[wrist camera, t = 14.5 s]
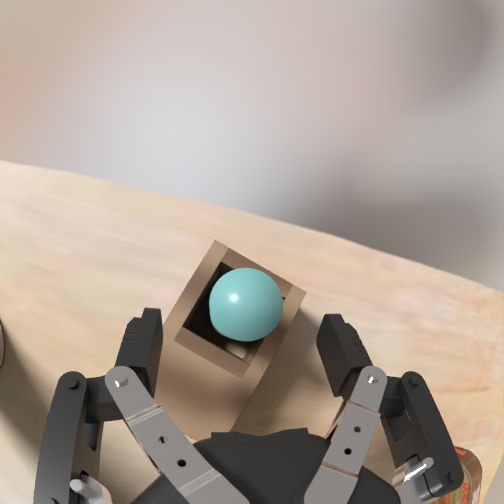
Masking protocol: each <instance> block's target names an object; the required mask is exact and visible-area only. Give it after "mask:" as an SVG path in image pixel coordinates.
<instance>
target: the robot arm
mask: <svg viewBox="0 0 504 504" xmlns="http://www.w3.org/2000/svg"><path fill="white" fill-rule="evenodd" d="M316 344H317V348H318V351H319V354H320V357H321V360H322V363H323V365H324V368H325V371H326V374H327V377H328V380H329V383H330V386H331V389H332V392H333V395H334V397H339V396H342V397H343V401H342V403H341V405H340V407H339V409H338V411H337V414H336V416H335V418H334V420H333V422H332V424H331V426H330V428H329V430H328V431H327V433H326V435H325V436H324V438H323V437H321V436H318V435H314V434H308V430H307V428H299V429H289V430H283V431H279V432H276V433H273V434H270V435H266V436H262V437H259V436H253V435H247V434H242V433H237V432H211V438H207V439H203V440H200V441H198V442H196V443H194V444H191V443H190V442H189V440H188V439H187V438H186V437H185V436H184V434H183V433H182V432H181V431H180V430H179V428H178V427H177V426H176V425H175V423H174V422H173V421H172V419H171V418H170V417H169V416H168V414H167V413H166V412H165V410H164V409H163V408H162V407H161V406H158V405H157V404H156V403H155V402H154V400H153V399H152V398H154V396H155V389H156V382H157V375H158V369H159V363H160V357H161V351H162V345H163V327H162V318H161V310H160V309H158V308H144V311H143V314H142V318H136V317H134V318H133V319H132V320H131V321H130V322H129V323H128V324H127V327H126V330H125V334H124V337H123V341H122V343H121V346H120V350H119V353H118V356H117V360H116V363H115V366H114V368H112V369H110V370H109V371H108V372H107V374H106V375H104V376H101V377H95V378H85V377H84V375H82V374H81V373H79V372H75V371H71V372H67V373H65V374H63V375H62V376H61V377H60V379H59V381H58V384H57V387H56V390H55V394H54V397H53V401H52V404H51V408H50V412H49V416H48V419H47V424H46V428H45V432H44V437H43V441H42V446H41V451H40V457H39V462H38V468H37V475H36V482H35V490H34V501H33V502H34V504H112V500H111V495H110V493H109V491H108V490H107V489H106V488H105V487H104V486H103V485H102V484H100V483H99V482H98V469H99V458H100V448H101V440H102V432H103V425H104V422H105V421H113V420H121V419H123V421H124V422H125V424H126V426H127V427H128V429H129V430H130V432H131V433H132V435H133V437H134V438H135V440H136V441H137V443H138V444H139V446H140V447H141V449H142V450H143V452H144V453H145V455H146V456H147V458H148V459H149V461H150V462H151V463H152V465H153V466H154V467H155V469H156V470H157V471H158V473H159V474H160V476H159V477H158V478H157V479H156V480H155V481H154V482H153V483H152V484H151V485H150V486H149V487H147V488H146V489H145V490H144V491H143V492H142V493H141V494H140V495H139V496H138V497H137V498H136V499H135V500H134V501H133V502H131V503H130V504H429V503H431V502H434V501H436V500H438V499H440V498H442V497H443V496H445V495H447V494H449V493H451V492H453V491H455V490H456V489H458V488H459V487H460V486H461V485H462V483H463V481H464V472H463V469H462V466H461V463H460V461H459V458H458V455H457V453H456V450H455V448H454V445H453V443H452V440H451V438H450V435H449V433H448V431H447V428H446V426H445V424H444V421H443V419H442V417H441V415H440V412H439V410H438V408H437V406H436V404H435V401H434V399H433V397H432V395H431V393H430V391H429V389H428V387H427V385H426V383H425V380H424V379H423V377H422V376H421V375H420V374H418V373H416V372H413V371H409V372H406V373H404V375H403V376H402V377H401V378H398V377H390V376H386V374H385V372H384V371H383V370H382V369H380V368H378V367H376V366H373V364H372V362H371V360H370V358H369V355H368V353H367V351H366V349H365V347H364V345H362V341H361V339H359V335H358V333H357V331H356V330H355V329H354V328H353V327H352V326H351V325H350V324H349V323H345V322H344V320H343V318H342V316H341V314H325V315H324V317H323V320H322V323H321V326H320V329H319V331H318V334H317V339H316ZM3 355H4V340H3V333H2V328H1V325H0V367H1V364H2V360H3ZM406 411H407V412H406ZM407 413H408V415H407ZM408 416H409V417H408ZM379 418H380V419H381V422H382V425H383V428H384V431H385V434H386V437H387V441H388V444H389V447H390V450H391V453H392V457H393V460H394V463H395V467H396V470H395V472H394V474H393V480H392V483H391V485H390V484H389V483H387V482H386V481H384V480H383V479H381V478H380V477H378V476H377V475H375V474H374V473H373V472H371V471H370V470H368V469H367V468H365V467H364V466H363V465H362V464H363V461H364V459H365V456H366V454H367V451H368V449H369V446H370V444H371V441H372V438H373V436H374V433H375V430H376V427H377V424H378V421H379ZM409 419H410V420H409ZM410 421H411V422H410Z"/></svg>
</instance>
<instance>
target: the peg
mask: <svg viewBox="0 0 504 504" xmlns="http://www.w3.org/2000/svg"><path fill="white" fill-rule="evenodd" d="M209 308H210V317H211V323H212V326H213V328H214V329H215V330H216V332H218V333H219V334H220V335H222V336H224V337H228V338H231V339H235V340H240V341H254V340H258V339H261V338H263V337H265V336H266V335H268V334H269V333H270V332H272V331H273V330H274V328H275V327H276V326H277V324H278V323H279V321H280V319H281V316H282V312H283V298H282V294H281V292H280V289H279V287H278V286H277V284H276V283H275V281H274V280H273V279H272V278H271V277H270V276H268V275H267V274H265V273H264V272H262V271H259V270H256V269H252V268H239V269H235V270H232V271H230V272H228V273H226V274H225V275H223V276H222V277H221V278H220V279H219V280H218V281H217V282H216V284H215V285H214V287H213V289H212V292H211V295H210V301H209Z"/></svg>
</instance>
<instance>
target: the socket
mask: <svg viewBox="0 0 504 504" xmlns="http://www.w3.org/2000/svg"><path fill="white" fill-rule="evenodd" d="M239 268H252V269H256V270H259V271H262V272H264V273H265V274H267V275H268V276H270V277H271V278H272V279H273V280H274V281H275V283H276V284H277V286H278V287H279V289H280V292H281V294H282V298H283V312H282V316H281V319H280V321H279V323H278V324H277V326H276V327H275V328H274V330H273V331H272V332H270V333H269V334H268V335H266V336H265V337H263V338H261V339H258V340H254V341H253V342H252V343H251V345H250V347H249V349H248V351H247V352H246V354H245V356H244V358H243V359H242V358H240V357H238V356H236V355H234V354H233V353H231V352H229V351H227V350H225V349H223V348H222V347H220V346H218V345H216V344H214V343H213V342H211V341H209V340H207V339H206V338H204V337H202V336H201V335H199V334H197V333H195V332H194V331H192V330H190V329H189V328H188V326H189V324H190V322H191V321H192V319H193V317H194V316H195V314H196V312H197V311H198V309H199V307H200V305H201V304H202V302H203V300H204V299H205V297H206V295H207V294H208V292H209V290H210V289H211V287H212V285H213V284H214V282H215V280H216V278H217V277H218V275H220V276H223V275H225V274H226V273H228V272H230V271H232V270H235V269H239ZM305 295H306V292H305V291H304V290H302V289H300V288H298V287H297V286H295V285H293V284H291V283H290V282H288V281H286V280H284V279H283V278H281V277H279V276H277V275H276V274H274V273H272V272H270V271H269V270H267V269H265V268H263V267H261V266H260V265H258V264H256V263H254V262H253V261H251V260H249V259H247V258H246V257H244V256H242V255H241V254H239V253H237V252H235V251H234V250H232V249H230V248H228V247H227V246H225V245H223V244H221V243H220V242H218V241H216V240H215V241H214V242H213V244H212V245H211V247H210V249H209V250H208V252H207V253H206V255H205V257H204V258H203V260H202V261H201V263H200V265H199V266H198V268H197V269H196V271H195V273H194V274H193V276H192V278H191V279H190V281H189V282H188V284H187V286H186V287H185V289H184V291H183V292H182V294H181V296H180V297H179V299H178V301H177V302H176V304H175V306H174V307H173V309H172V311H171V312H170V314H169V316H168V317H167V319H166V321H165V323H164V324H163V326H162V327H163V345H162V351H161V357H160V363H159V369H158V375H157V382H156V389H155V396H154V398H152V399H153V400H154V402H155V403H156V404H157V405H158V406H161V407H162V408H163V409H164V410H165V412H166V413H167V414H168V416H169V417H170V418H171V419H172V421H173V422H174V423H175V425H176V426H177V427H178V428H179V430H180V431H181V432H182V433H183V434H185V435H187V436H189V437H191V438H193V439H195V440H197V441H200V440H203V439H207V438H211V432H229V431H230V430H231V428H232V427H233V425H234V423H235V422H236V420H237V418H238V417H239V415H240V414H241V412H242V410H243V409H244V407H245V405H246V404H247V402H248V400H249V398H250V397H251V395H252V393H253V392H254V390H255V388H256V386H257V385H258V383H259V381H260V379H261V378H262V376H263V374H264V372H265V371H266V369H267V367H268V365H269V363H270V362H271V360H272V358H273V356H274V354H275V352H276V351H277V349H278V347H279V345H280V343H281V341H282V339H283V338H284V336H285V334H286V332H287V330H288V328H289V326H290V324H291V322H292V320H293V318H294V316H295V314H296V312H297V310H298V309H299V307H300V305H301V303H302V301H303V299H304V297H305Z"/></svg>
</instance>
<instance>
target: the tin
mask: <svg viewBox="0 0 504 504" xmlns="http://www.w3.org/2000/svg"><path fill="white" fill-rule="evenodd" d="M454 448H455V450H456V453H457V455H458V458H459V461H460V463H461V466H462V469H463V472H464V481H463V483H462V485H461V486H460V487H459V488H458V489H456V490H455V491H453V492H451V493H449V494H447V495H445V496H443V497H442V498H440V499H438V500H436V501H434V502H431V503H429V504H478V502H479V495H480V488H481V479H482V467H481V464H480V462H479V460H478V458H477V457H476V456H475V455H474V454H473V453H472V452H471V451H469V450H467V449H463V448H460V447H454Z"/></svg>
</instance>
